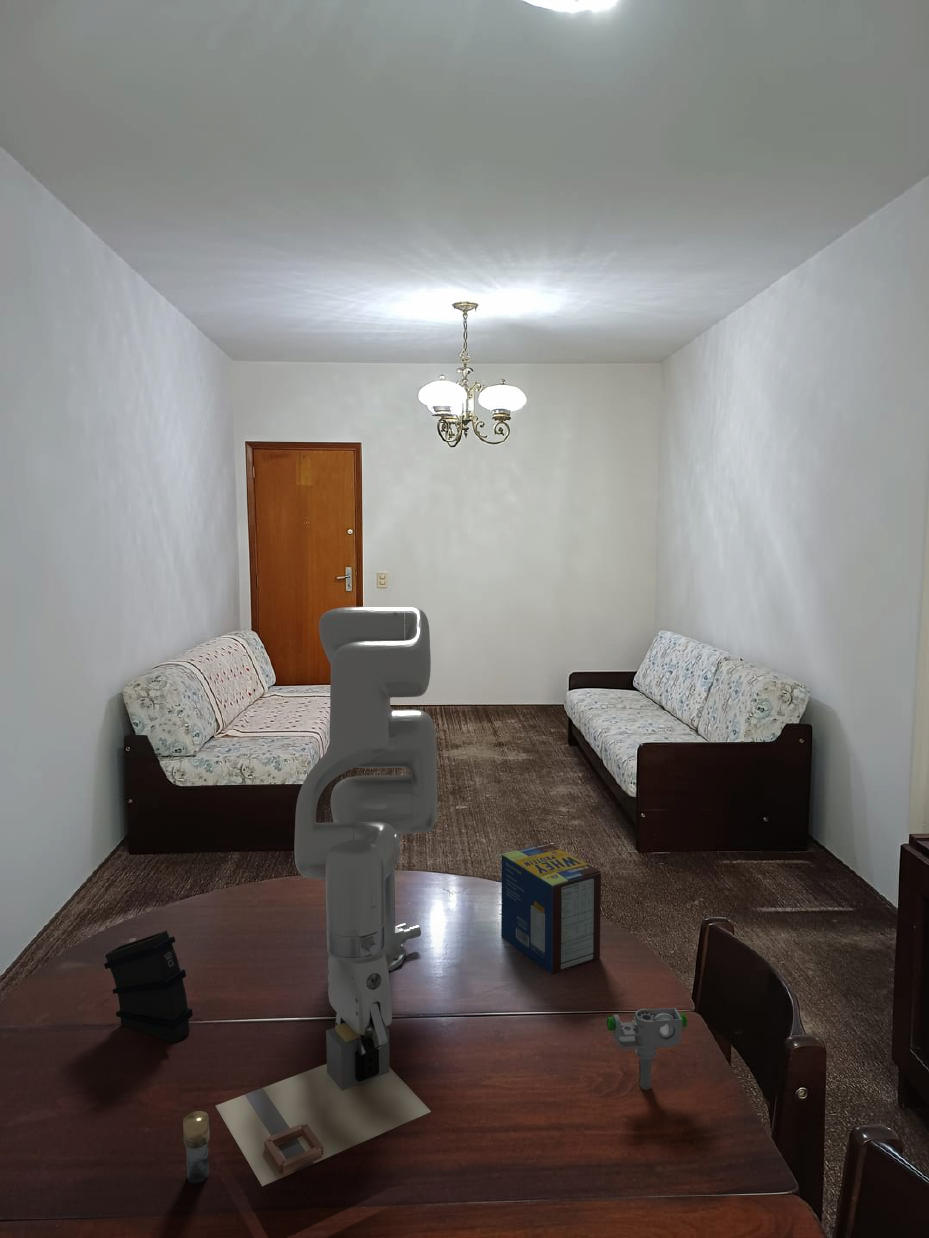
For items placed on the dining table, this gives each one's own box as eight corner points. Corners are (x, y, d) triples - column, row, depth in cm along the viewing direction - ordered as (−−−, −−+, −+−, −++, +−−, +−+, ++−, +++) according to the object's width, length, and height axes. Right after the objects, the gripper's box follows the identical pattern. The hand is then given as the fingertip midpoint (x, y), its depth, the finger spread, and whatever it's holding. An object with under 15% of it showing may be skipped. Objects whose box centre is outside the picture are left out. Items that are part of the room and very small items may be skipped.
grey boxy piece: (373, 1054, 122) (373, 1009, 122) (389, 1071, 119) (389, 1025, 118) (327, 1072, 119) (326, 1026, 118) (341, 1090, 115) (341, 1042, 114)
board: (371, 1054, 124) (370, 1040, 124) (431, 1120, 111) (431, 1103, 111) (215, 1114, 112) (215, 1098, 112) (262, 1195, 99) (261, 1177, 99)
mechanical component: (604, 1080, 119) (605, 1010, 118) (679, 1076, 120) (681, 1006, 118) (609, 1095, 116) (611, 1023, 115) (686, 1090, 117) (688, 1019, 115)
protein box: (546, 922, 164) (547, 841, 162) (601, 958, 151) (602, 871, 149) (499, 936, 158) (499, 853, 156) (551, 975, 145) (552, 884, 143)
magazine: (190, 1040, 125) (151, 939, 126) (129, 1055, 131) (93, 959, 132) (209, 1026, 128) (171, 928, 129) (149, 1041, 134) (112, 947, 135)
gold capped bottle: (206, 1162, 104) (204, 1107, 103) (214, 1177, 102) (212, 1121, 101) (182, 1172, 102) (179, 1116, 101) (189, 1188, 100) (187, 1131, 99)
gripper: (413, 956, 111) (414, 1090, 114) (352, 905, 125) (354, 1026, 128) (360, 973, 107) (362, 1113, 110) (303, 919, 121) (306, 1044, 123)
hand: (358, 1065), depth 119 cm, fingers closed on grey boxy piece, 4 cm apart
